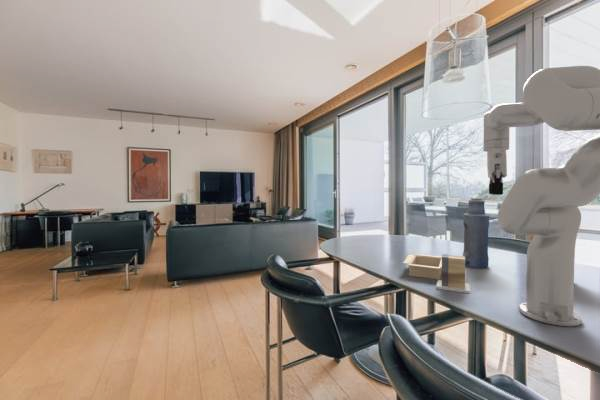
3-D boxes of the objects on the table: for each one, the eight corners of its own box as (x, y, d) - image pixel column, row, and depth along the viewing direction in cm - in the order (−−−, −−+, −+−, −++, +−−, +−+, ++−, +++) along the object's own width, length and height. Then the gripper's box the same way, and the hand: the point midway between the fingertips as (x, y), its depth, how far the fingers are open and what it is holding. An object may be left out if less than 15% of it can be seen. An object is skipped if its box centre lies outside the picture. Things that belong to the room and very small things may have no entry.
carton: (447, 282, 104) (447, 269, 104) (401, 276, 112) (401, 264, 112) (449, 268, 121) (449, 257, 121) (409, 263, 129) (409, 253, 129)
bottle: (460, 262, 131) (460, 197, 130) (484, 263, 128) (484, 197, 127) (466, 267, 122) (466, 198, 121) (492, 269, 119) (493, 198, 118)
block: (464, 288, 95) (465, 259, 94) (441, 285, 98) (441, 256, 98) (464, 284, 99) (465, 256, 98) (442, 281, 102) (442, 254, 102)
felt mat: (469, 293, 93) (469, 291, 93) (436, 288, 98) (436, 286, 98) (469, 285, 100) (469, 283, 100) (437, 281, 105) (437, 279, 105)
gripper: (513, 141, 90) (512, 195, 91) (505, 148, 105) (505, 193, 106) (485, 143, 94) (484, 195, 95) (481, 149, 109) (481, 193, 110)
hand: (495, 194), depth 100 cm, fingers open, 9 cm apart
